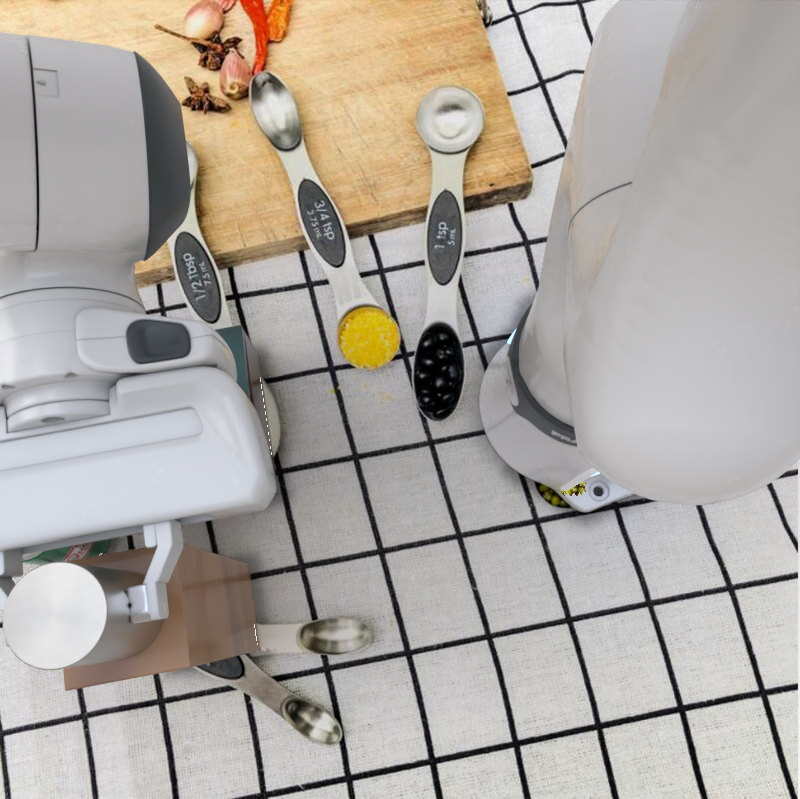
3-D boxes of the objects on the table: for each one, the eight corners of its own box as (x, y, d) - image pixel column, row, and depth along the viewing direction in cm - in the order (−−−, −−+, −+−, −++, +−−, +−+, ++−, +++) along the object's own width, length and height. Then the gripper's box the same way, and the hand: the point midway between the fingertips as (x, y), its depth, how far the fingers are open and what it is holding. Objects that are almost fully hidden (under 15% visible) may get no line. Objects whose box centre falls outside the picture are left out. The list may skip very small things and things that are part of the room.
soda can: (102, 575, 69) (39, 568, 57) (43, 563, 69) (-31, 553, 57) (119, 515, 70) (61, 496, 58) (62, 503, 70) (-7, 481, 59)
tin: (159, 564, 47) (102, 552, 39) (168, 650, 46) (112, 659, 37) (75, 579, 47) (-2, 571, 38) (82, 667, 46) (5, 679, 37)
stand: (248, 563, 69) (176, 541, 48) (260, 650, 67) (190, 667, 46) (165, 579, 69) (54, 563, 47) (174, 666, 67) (64, 691, 46)
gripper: (-166, 390, 42) (-162, 676, 38) (240, 318, 42) (279, 593, 39) (-92, 419, 48) (-83, 668, 44) (261, 356, 48) (297, 596, 45)
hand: (90, 632), depth 41 cm, fingers closed on tin, 5 cm apart
